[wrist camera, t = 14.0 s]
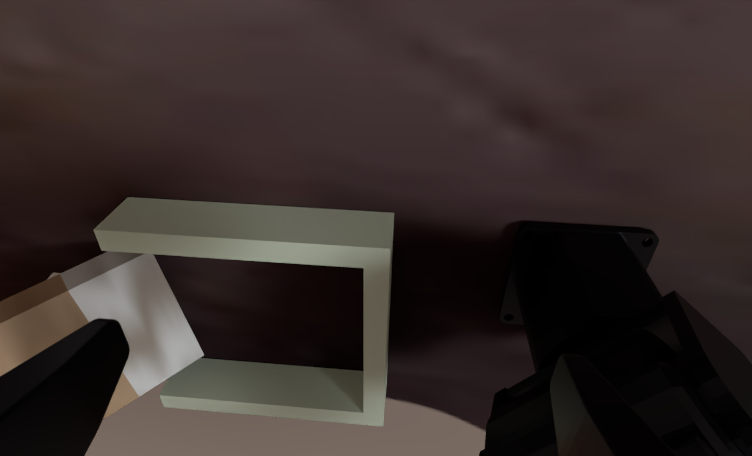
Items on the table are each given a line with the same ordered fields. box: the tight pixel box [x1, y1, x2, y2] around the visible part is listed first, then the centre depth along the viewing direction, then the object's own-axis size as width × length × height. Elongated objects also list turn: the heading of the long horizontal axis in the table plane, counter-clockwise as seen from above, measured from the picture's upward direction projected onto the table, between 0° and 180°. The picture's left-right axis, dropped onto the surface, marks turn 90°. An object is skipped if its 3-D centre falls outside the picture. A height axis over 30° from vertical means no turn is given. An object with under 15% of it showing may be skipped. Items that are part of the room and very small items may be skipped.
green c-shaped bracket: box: [93, 197, 394, 426], centre depth 26 cm, size 13×14×3 cm
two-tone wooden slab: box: [0, 251, 204, 419], centre depth 24 cm, size 8×2×10 cm
